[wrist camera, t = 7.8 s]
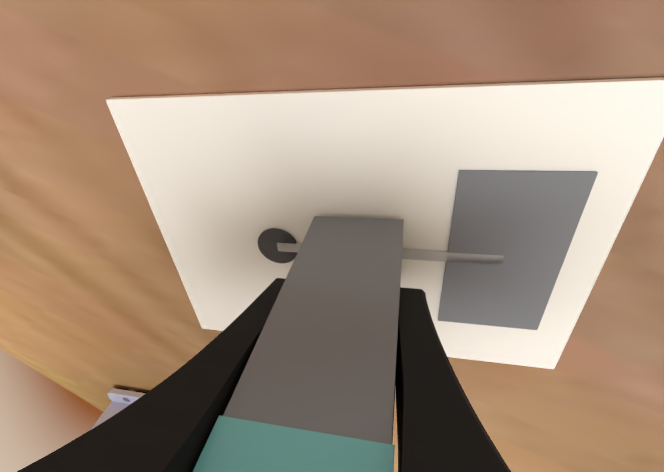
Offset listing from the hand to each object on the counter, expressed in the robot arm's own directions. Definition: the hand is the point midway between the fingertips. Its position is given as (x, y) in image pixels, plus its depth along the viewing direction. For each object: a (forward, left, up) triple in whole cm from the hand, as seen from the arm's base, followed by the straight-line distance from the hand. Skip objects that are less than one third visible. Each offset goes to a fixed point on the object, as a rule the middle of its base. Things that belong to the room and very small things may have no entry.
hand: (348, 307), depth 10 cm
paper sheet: (0, 0, -3) cm, 3 cm away
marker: (0, 0, -3) cm, 3 cm away
